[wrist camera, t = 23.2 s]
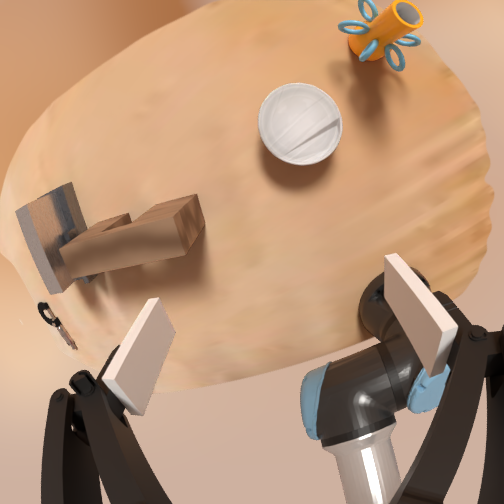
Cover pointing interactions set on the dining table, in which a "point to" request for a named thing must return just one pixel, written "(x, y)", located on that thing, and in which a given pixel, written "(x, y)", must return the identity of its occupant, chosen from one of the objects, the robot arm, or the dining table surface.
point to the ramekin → (300, 124)
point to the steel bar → (46, 240)
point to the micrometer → (56, 324)
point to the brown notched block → (135, 238)
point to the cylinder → (383, 31)
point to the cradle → (71, 216)
